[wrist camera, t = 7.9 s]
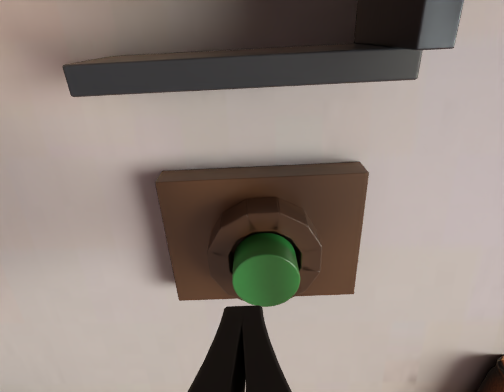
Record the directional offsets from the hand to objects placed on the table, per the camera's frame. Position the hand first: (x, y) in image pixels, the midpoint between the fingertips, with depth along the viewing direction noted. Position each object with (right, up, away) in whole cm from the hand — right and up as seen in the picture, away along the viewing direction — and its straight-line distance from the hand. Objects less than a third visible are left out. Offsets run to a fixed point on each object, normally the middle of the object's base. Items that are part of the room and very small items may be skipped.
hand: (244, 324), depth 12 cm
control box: (+1, +3, +9) cm, 10 cm away
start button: (+1, +1, +7) cm, 7 cm away
